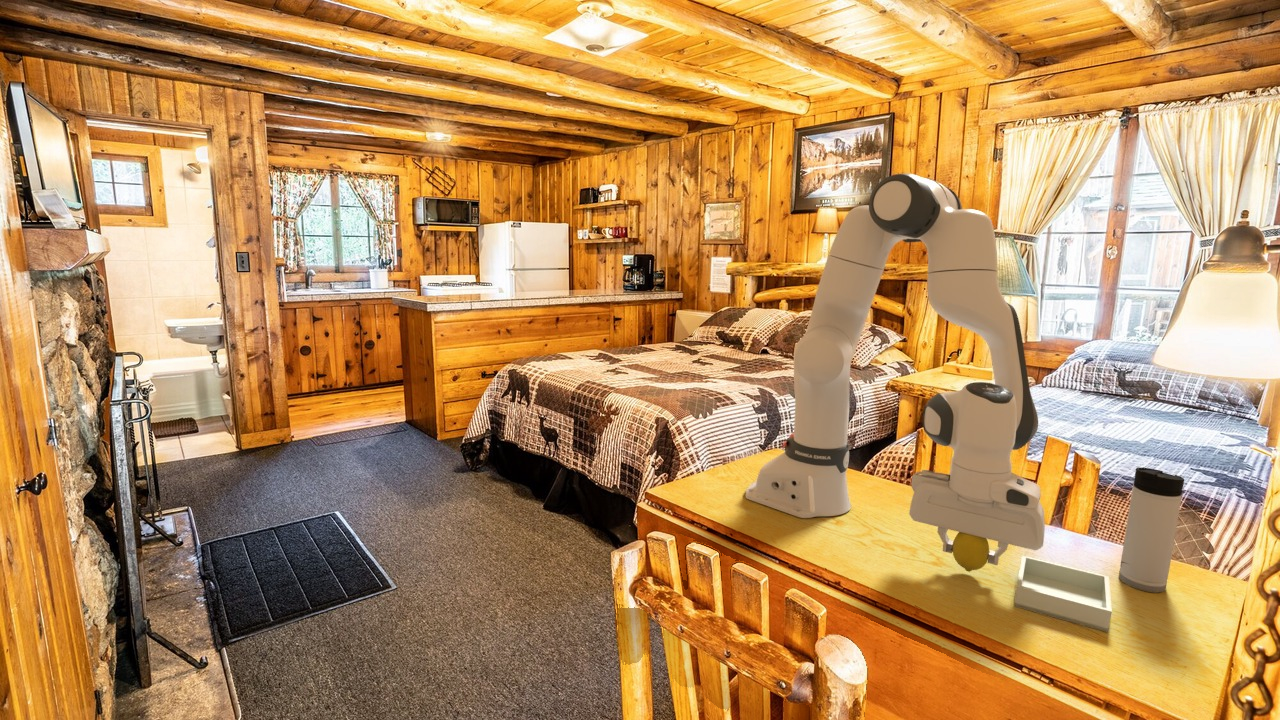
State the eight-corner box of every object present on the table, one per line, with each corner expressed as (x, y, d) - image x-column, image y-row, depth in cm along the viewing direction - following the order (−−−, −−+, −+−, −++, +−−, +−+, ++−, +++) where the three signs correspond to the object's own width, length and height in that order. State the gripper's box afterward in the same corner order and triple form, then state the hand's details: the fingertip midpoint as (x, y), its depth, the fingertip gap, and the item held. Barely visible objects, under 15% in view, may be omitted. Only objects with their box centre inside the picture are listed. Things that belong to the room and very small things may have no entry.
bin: (1014, 606, 99) (1016, 586, 99) (1020, 573, 109) (1022, 555, 108) (1108, 632, 93) (1111, 611, 92) (1105, 595, 102) (1108, 576, 102)
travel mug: (1109, 578, 107) (1126, 466, 104) (1132, 570, 110) (1149, 461, 106) (1150, 597, 102) (1170, 479, 98) (1174, 588, 105) (1194, 473, 101)
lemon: (990, 581, 105) (996, 537, 104) (955, 577, 107) (960, 533, 105) (980, 565, 111) (985, 522, 109) (946, 561, 112) (951, 519, 110)
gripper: (908, 472, 109) (901, 546, 112) (1049, 501, 97) (1037, 583, 100) (916, 462, 114) (910, 533, 117) (1051, 488, 102) (1040, 567, 105)
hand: (970, 557), depth 108 cm, fingers closed on lemon, 5 cm apart
